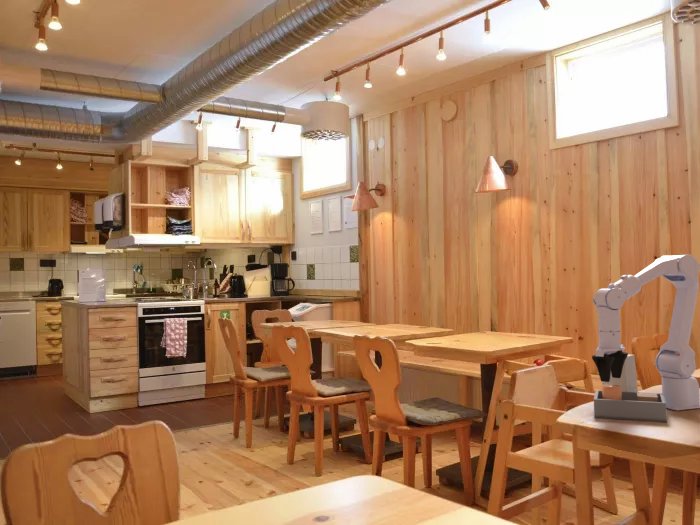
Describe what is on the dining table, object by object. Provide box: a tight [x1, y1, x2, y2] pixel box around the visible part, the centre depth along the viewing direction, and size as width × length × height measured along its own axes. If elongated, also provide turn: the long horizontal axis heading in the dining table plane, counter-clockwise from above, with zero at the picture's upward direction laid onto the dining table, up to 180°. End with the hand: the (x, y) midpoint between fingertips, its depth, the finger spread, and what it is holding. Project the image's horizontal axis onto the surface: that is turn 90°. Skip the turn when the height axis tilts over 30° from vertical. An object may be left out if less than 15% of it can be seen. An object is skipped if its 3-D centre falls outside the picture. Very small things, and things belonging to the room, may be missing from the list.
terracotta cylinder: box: [601, 384, 622, 400], centre depth 174 cm, size 5×5×7 cm
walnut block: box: [637, 392, 658, 402], centre depth 171 cm, size 5×5×5 cm
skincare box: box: [601, 353, 639, 392], centre depth 186 cm, size 8×6×15 cm
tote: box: [593, 389, 667, 423], centre depth 172 cm, size 18×14×5 cm
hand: (610, 379), depth 174 cm, fingers open, 7 cm apart
